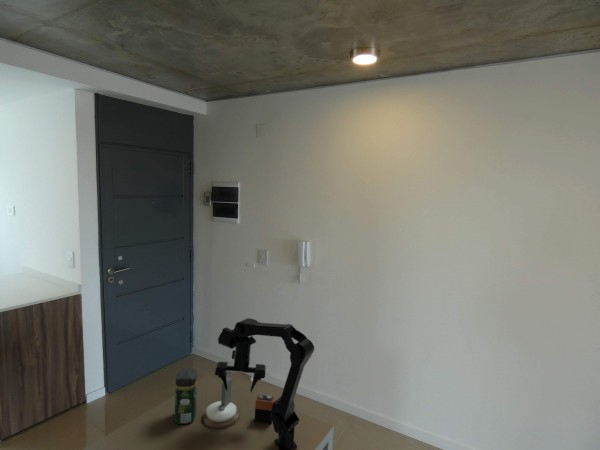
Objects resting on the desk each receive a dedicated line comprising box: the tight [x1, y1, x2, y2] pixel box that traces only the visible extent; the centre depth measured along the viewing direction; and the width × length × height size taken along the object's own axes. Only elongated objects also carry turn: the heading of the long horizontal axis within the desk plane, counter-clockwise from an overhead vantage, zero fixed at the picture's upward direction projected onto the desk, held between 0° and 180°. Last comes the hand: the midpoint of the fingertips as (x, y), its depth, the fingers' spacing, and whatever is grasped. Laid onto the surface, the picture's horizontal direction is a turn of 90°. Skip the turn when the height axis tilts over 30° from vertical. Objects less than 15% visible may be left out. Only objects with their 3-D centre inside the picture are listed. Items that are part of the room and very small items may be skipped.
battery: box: [254, 394, 275, 425], centre depth 139 cm, size 4×7×10 cm, turn 84°
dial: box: [205, 377, 237, 422], centre depth 139 cm, size 12×12×12 cm
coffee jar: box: [173, 367, 198, 425], centre depth 137 cm, size 10×8×19 cm
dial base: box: [202, 407, 240, 430], centre depth 139 cm, size 14×14×2 cm
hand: (238, 390), depth 136 cm, fingers open, 9 cm apart
